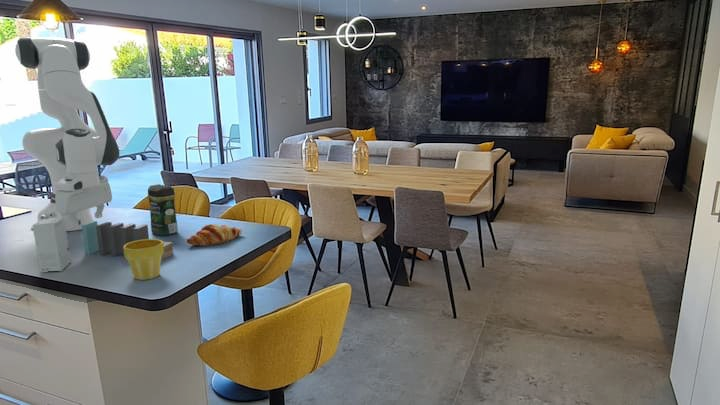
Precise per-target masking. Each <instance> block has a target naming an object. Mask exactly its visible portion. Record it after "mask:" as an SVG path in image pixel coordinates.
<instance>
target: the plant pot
mask: <svg viewBox="0 0 720 405" xmlns="http://www.w3.org/2000/svg"><path fill="white" fill-rule="evenodd" d="M163 242H164V241H163V240H161V239H157V238H149V239H143V240H137V241H133V242H129V243H127V244H125V245H124V247H123V248H124V254H123V257H124V256H125V258H124V259H126V260H127V262H128V264H129V267H130V269H131V273H132V275H133V277H134V279H135V280H138V281H145V280H151V279H155V278H157V277H159V275H160V270H161V262H162V260H161V257H162V254H163V253H164V245H163Z"/></svg>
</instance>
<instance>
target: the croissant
mask: <svg viewBox="0 0 720 405" xmlns="http://www.w3.org/2000/svg"><path fill="white" fill-rule="evenodd" d="M242 233H243V230H242V229H241V228H237V227H235V226H233V227H230V226H228V225H226V224H222V225H220V226H219V225H218V224H214V223H213V224H211V223H210V224H206V225H205V226H203V227H202V228H201V230H199V231H196V233H195V234H194V235H191V236H190V237H189V238H187V239H186V243H187V244H188V245H192V246H199V247H205V246H214V245H220V244H224V243H227V242H229V241H232V240H234V239H235V238H237V237H240V236H242Z"/></svg>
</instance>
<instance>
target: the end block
mask: <svg viewBox="0 0 720 405" xmlns="http://www.w3.org/2000/svg"><path fill="white" fill-rule="evenodd" d="M163 245H164V253H163V254H162V257H161V261H163V260H165V259H167V258H168V257H170V256H172V255H174V248H173V242H172V241H163Z"/></svg>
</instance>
